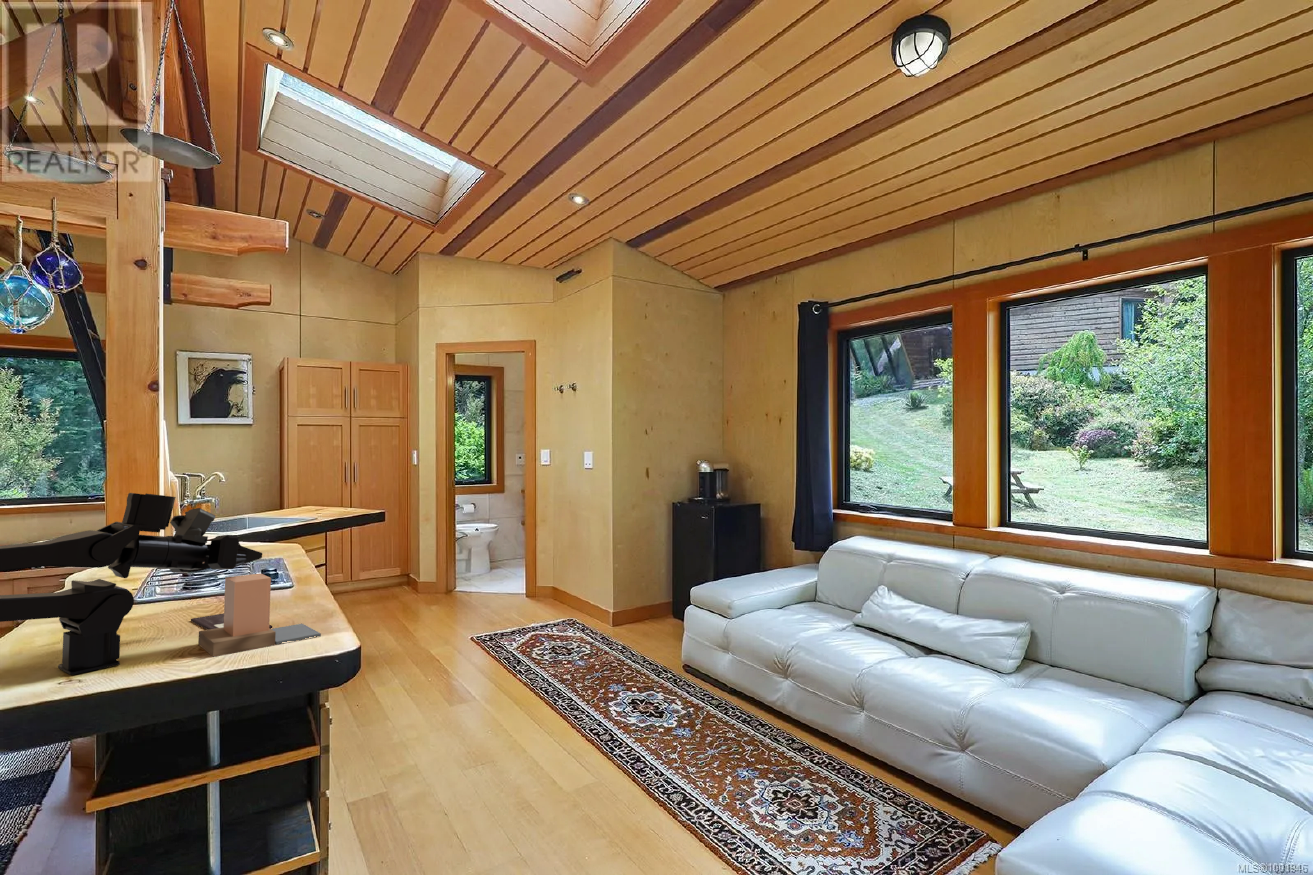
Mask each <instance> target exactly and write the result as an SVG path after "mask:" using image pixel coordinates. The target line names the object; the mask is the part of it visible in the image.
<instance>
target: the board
mask: <svg viewBox="0 0 1313 875" xmlns="http://www.w3.org/2000/svg"><path fill="white" fill-rule="evenodd" d="M272 629H273V628H272ZM272 629H270V628H269V630H268V631H262V632H256V633H250V634H245V635H239V636H231V635H230V634H229V633H227V632H226V631H224V627H222V628H216V629H210V630H207V629H205V630H198V643H197V644H198V646H200V648H201V649H203V650H204V651H205V652H206V653H208V654H209V655H210V656H211V657H219V656H220V657H221V656H225V655H230V654H235V653H240V652H247V651H250V650H256V649H261V648H262V649H263V648H267V647H266V646H268V647H272V646H271V645H273V646H276V644H275V636H276V632H275V631H273V630H272Z"/></svg>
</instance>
